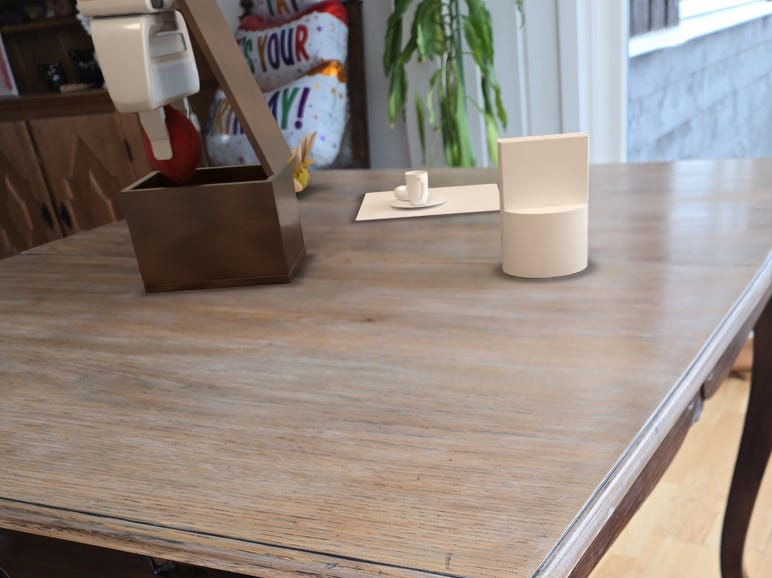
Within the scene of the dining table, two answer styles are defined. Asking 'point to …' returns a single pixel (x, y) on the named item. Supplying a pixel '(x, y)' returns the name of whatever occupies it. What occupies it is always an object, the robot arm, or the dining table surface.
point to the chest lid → (237, 82)
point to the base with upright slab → (544, 204)
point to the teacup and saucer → (428, 199)
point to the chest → (215, 228)
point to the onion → (178, 147)
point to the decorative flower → (302, 161)
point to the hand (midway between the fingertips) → (174, 153)
